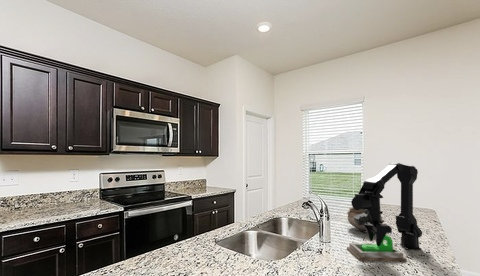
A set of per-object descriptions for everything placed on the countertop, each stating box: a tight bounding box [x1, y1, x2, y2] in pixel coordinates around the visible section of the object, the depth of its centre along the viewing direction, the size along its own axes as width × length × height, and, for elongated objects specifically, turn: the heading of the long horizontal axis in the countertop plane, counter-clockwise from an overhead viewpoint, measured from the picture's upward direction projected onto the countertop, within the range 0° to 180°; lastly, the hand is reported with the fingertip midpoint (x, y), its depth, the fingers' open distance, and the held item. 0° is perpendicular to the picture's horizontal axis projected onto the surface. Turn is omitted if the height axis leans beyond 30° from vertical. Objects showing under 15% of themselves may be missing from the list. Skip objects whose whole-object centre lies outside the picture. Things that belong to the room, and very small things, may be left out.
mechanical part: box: [362, 234, 394, 252], centre depth 114 cm, size 12×6×8 cm, turn 89°
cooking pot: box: [346, 206, 385, 233], centre depth 150 cm, size 25×19×12 cm
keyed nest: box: [346, 242, 408, 262], centre depth 112 cm, size 20×13×3 cm, turn 88°
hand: (374, 243), depth 113 cm, fingers open, 6 cm apart
